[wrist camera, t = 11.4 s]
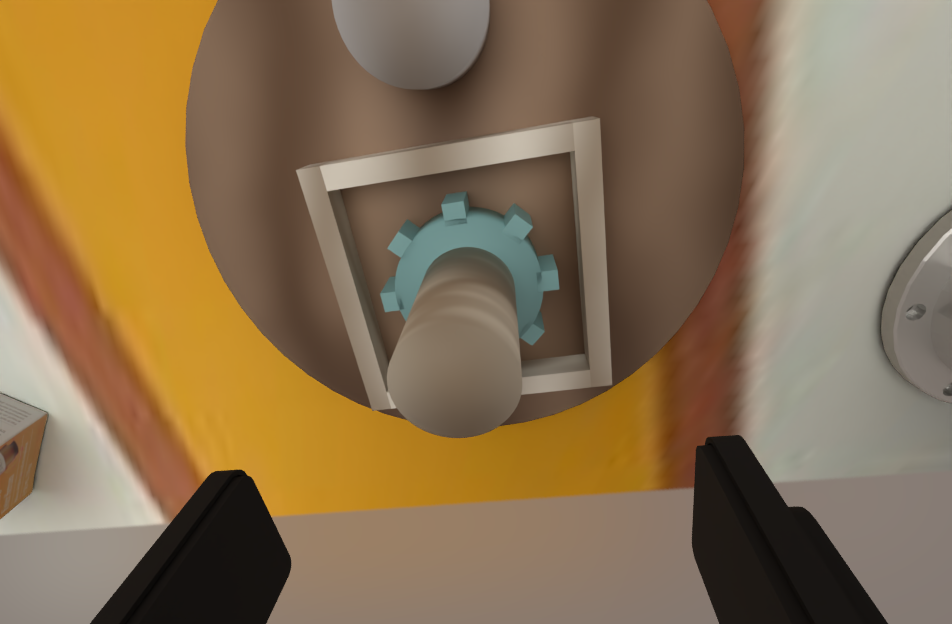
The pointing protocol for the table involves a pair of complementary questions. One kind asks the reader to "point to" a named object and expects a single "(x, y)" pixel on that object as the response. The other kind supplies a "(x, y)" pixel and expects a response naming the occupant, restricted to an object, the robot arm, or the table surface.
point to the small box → (18, 450)
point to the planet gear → (464, 316)
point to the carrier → (466, 169)
